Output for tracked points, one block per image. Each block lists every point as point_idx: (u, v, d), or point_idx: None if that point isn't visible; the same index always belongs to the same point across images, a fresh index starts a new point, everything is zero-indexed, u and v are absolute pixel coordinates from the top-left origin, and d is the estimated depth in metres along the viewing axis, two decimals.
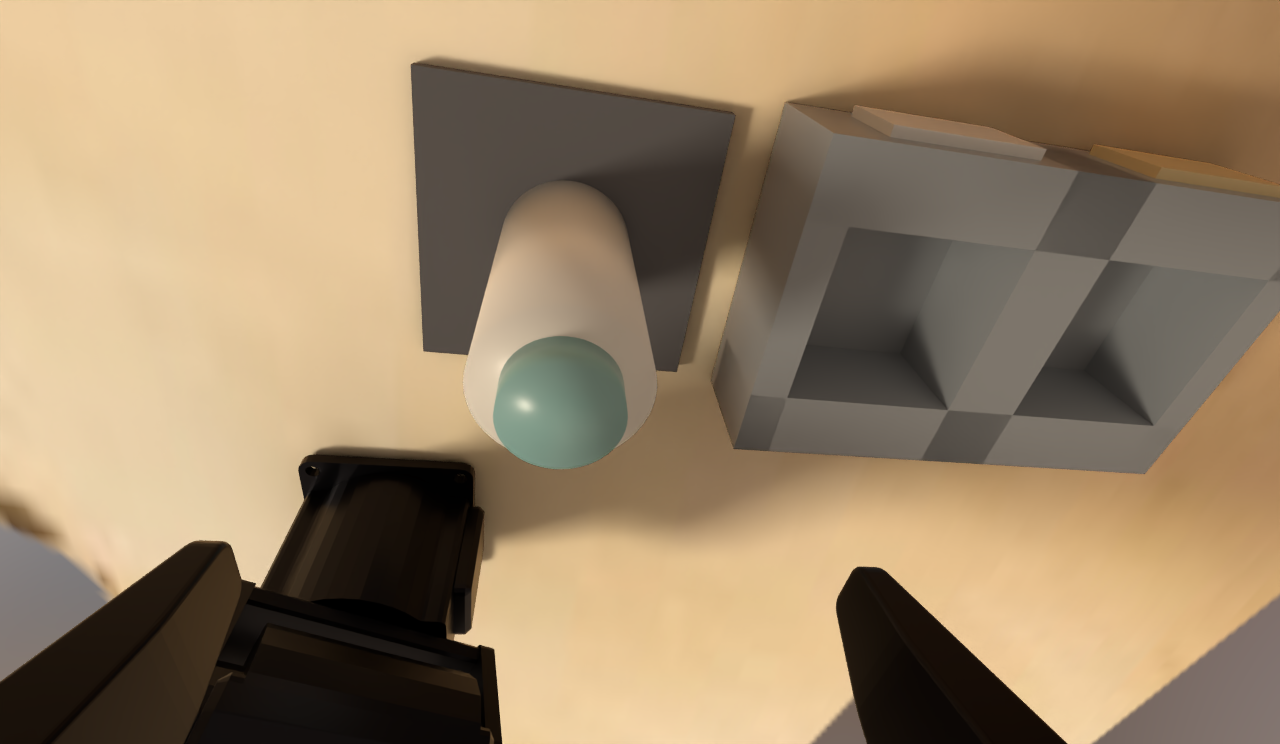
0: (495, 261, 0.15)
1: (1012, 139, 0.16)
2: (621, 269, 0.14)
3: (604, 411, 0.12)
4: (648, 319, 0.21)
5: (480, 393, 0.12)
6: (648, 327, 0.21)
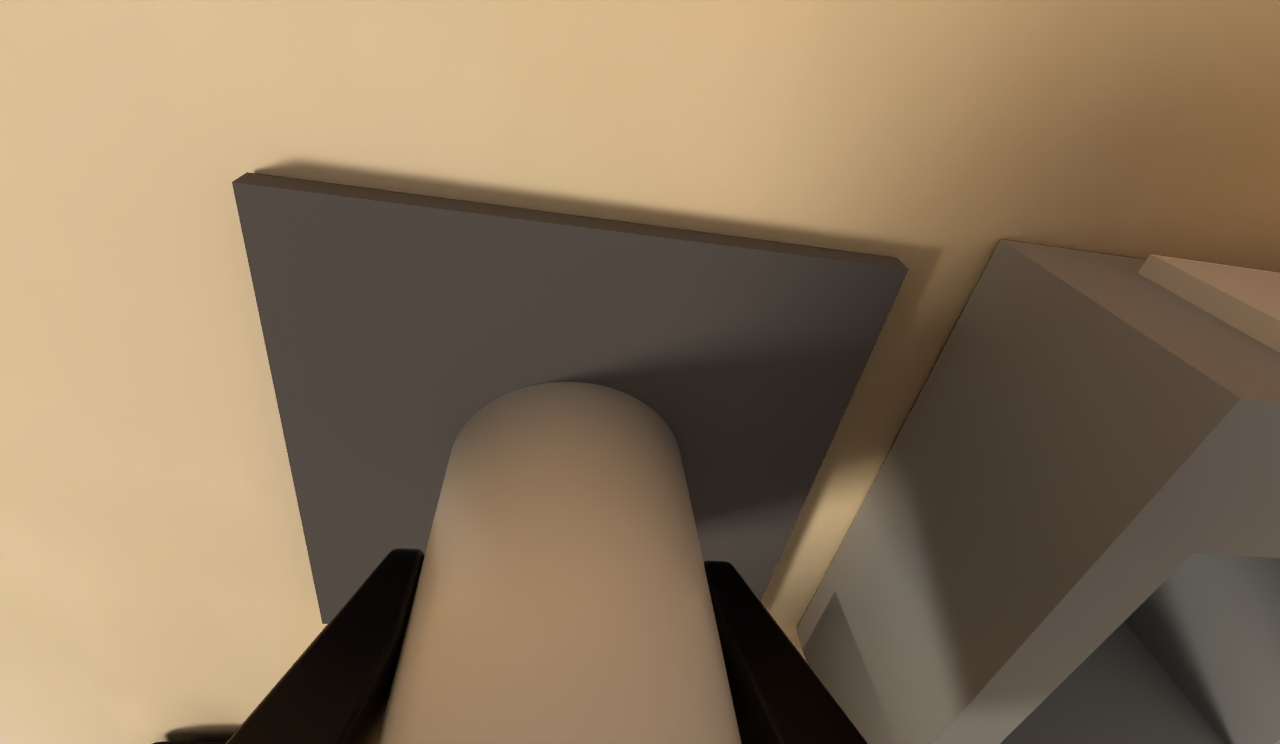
0: (406, 653, 0.07)
1: None
2: None
3: None
4: None
5: None
6: None
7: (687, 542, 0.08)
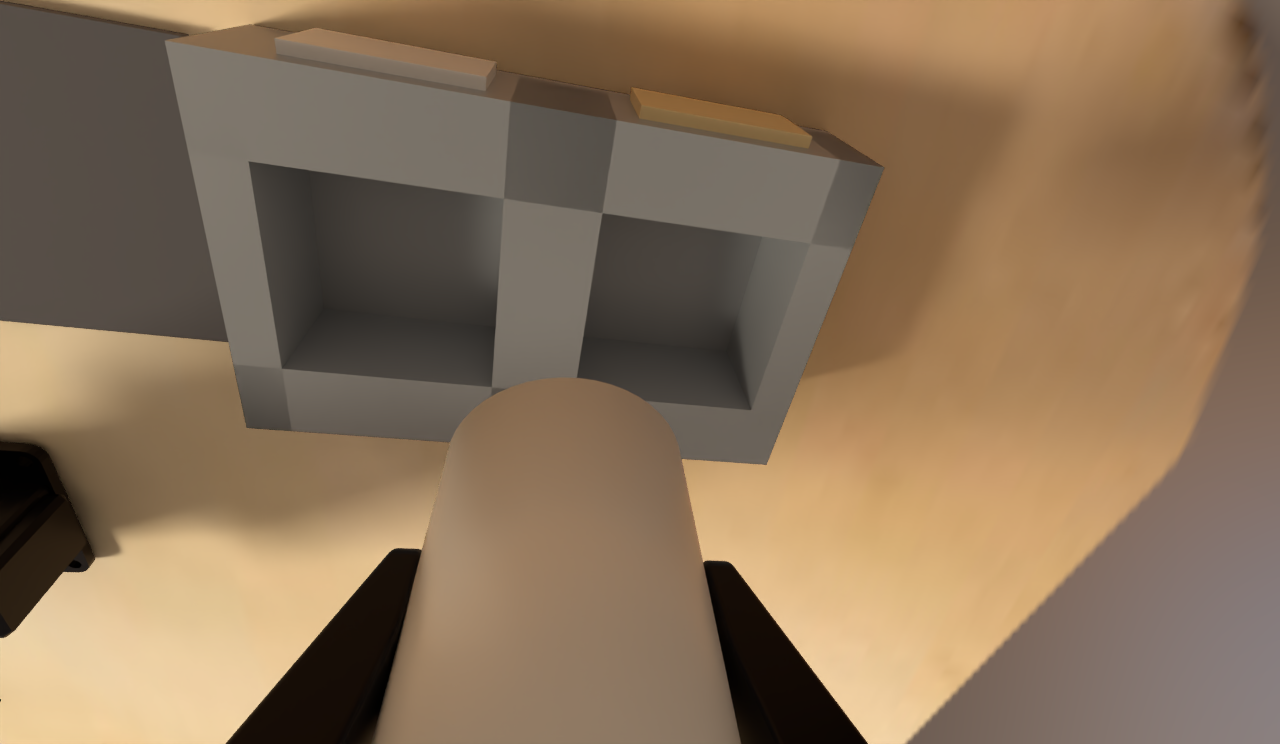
0: (401, 650, 0.07)
1: (465, 67, 0.14)
2: None
3: None
4: (179, 280, 0.18)
5: None
6: (183, 290, 0.19)
7: (686, 539, 0.08)
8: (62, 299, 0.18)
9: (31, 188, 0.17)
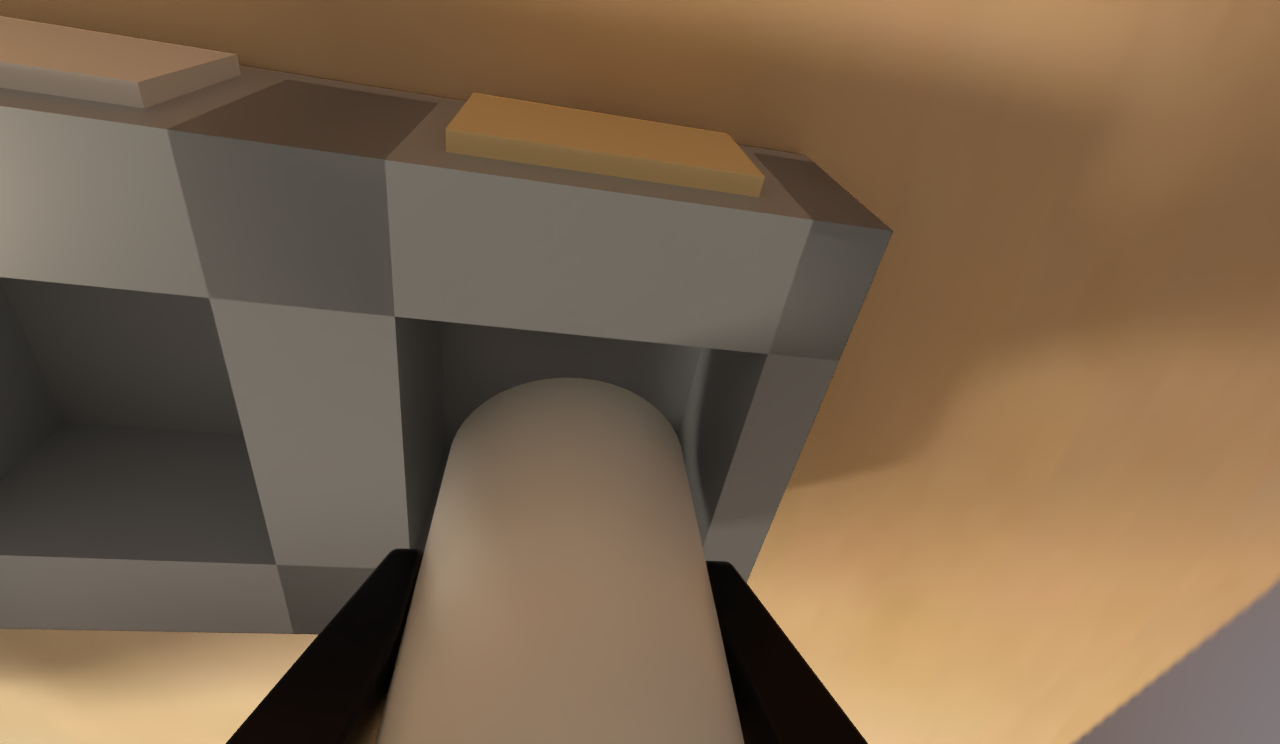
0: (404, 651, 0.07)
1: (122, 65, 0.08)
2: None
3: None
4: None
5: None
6: None
7: (689, 539, 0.08)
8: None
9: None
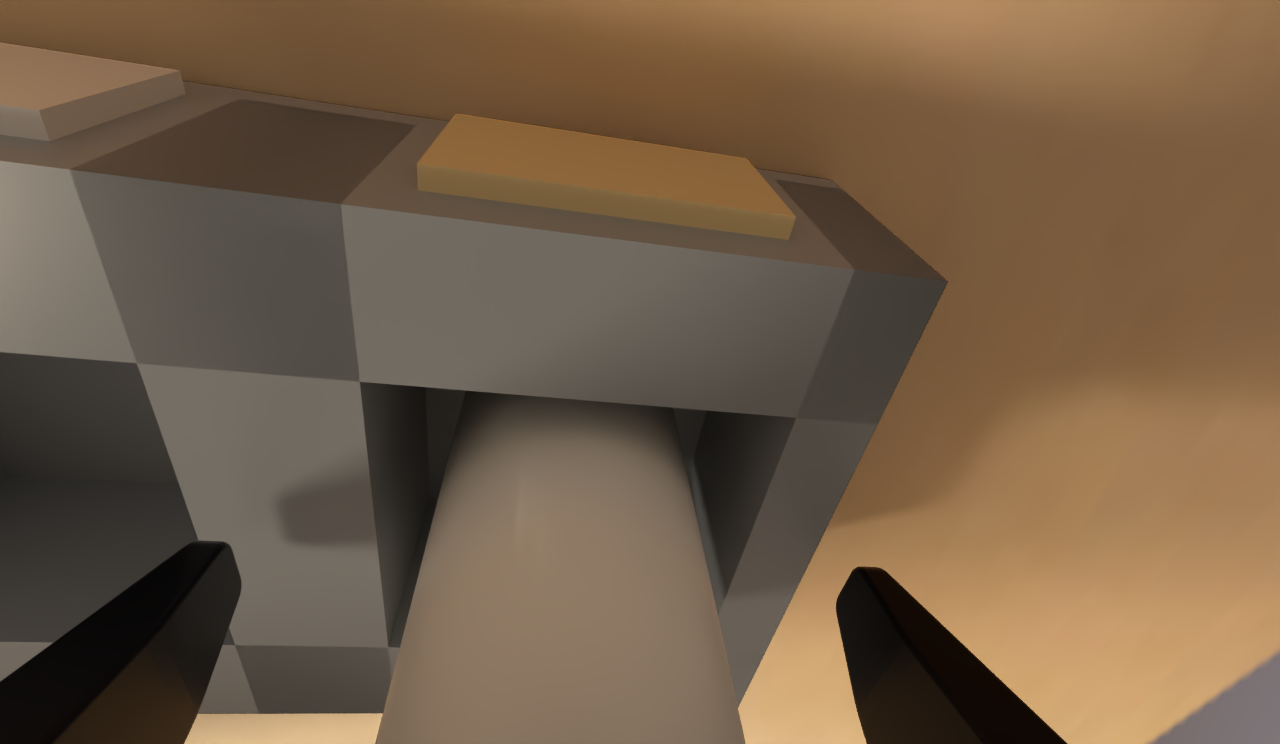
0: (439, 511, 0.08)
1: (28, 87, 0.06)
2: (682, 565, 0.07)
3: None
4: None
5: None
6: None
7: (670, 438, 0.10)
8: None
9: None
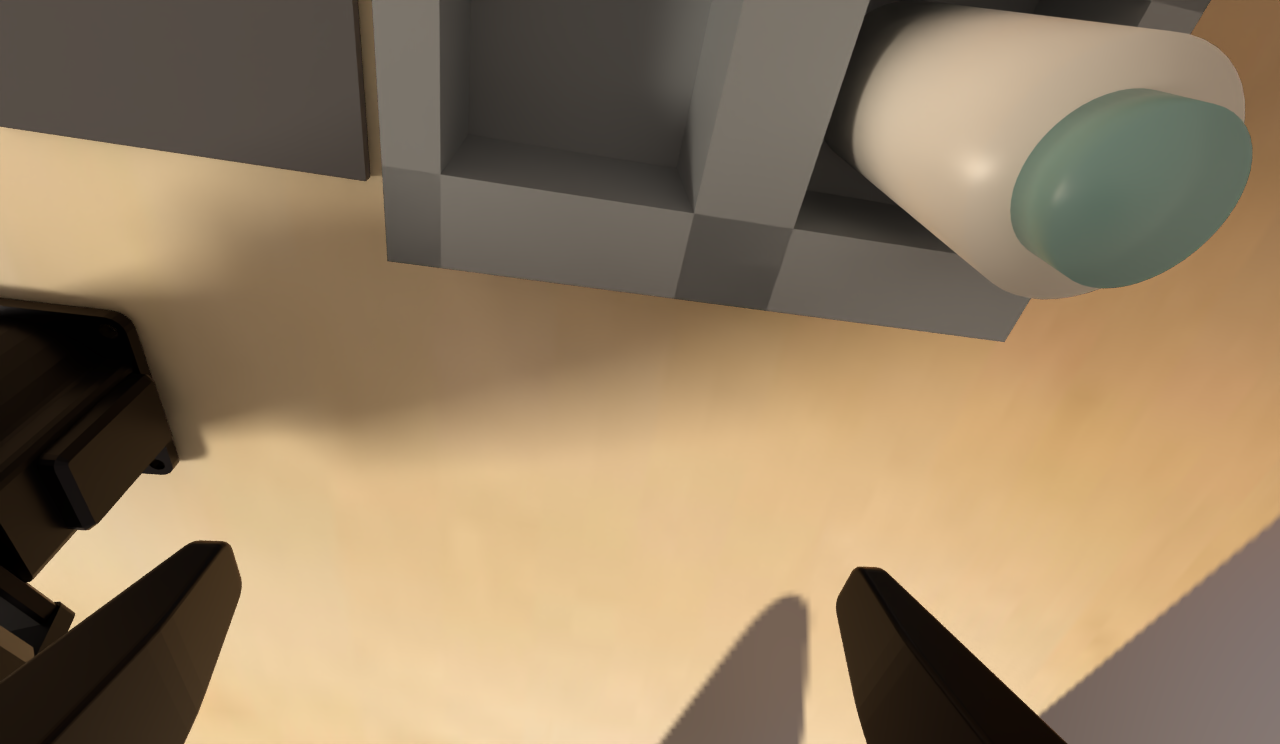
0: (900, 59, 0.12)
1: None
2: None
3: (1211, 194, 0.08)
4: (300, 90, 0.15)
5: (993, 178, 0.09)
6: (304, 103, 0.15)
7: None
8: (160, 112, 0.15)
9: None
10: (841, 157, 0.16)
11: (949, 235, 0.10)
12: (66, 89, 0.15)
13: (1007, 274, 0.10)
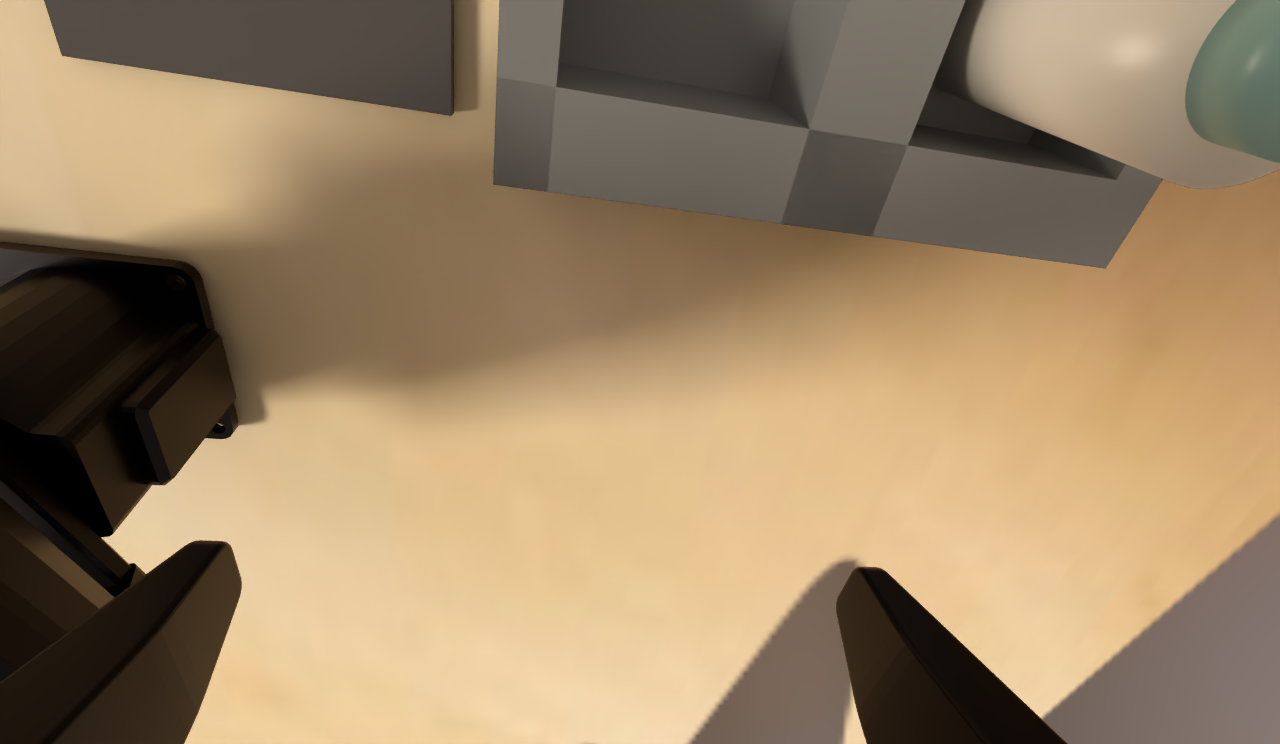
0: None
1: None
2: None
3: None
4: (390, 16, 0.15)
5: (1177, 47, 0.09)
6: (393, 31, 0.15)
7: None
8: (244, 41, 0.15)
9: None
10: (936, 81, 0.16)
11: (1107, 121, 0.10)
12: (148, 16, 0.14)
13: (1169, 159, 0.10)
